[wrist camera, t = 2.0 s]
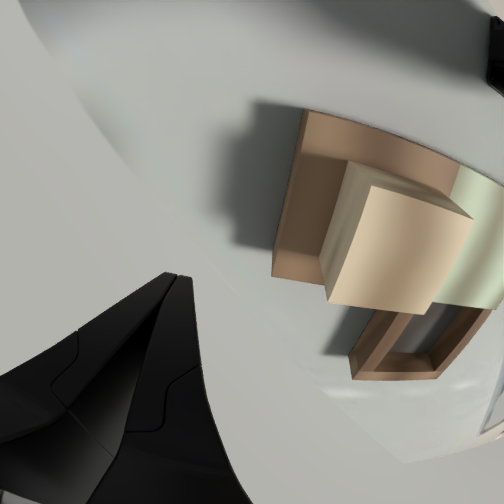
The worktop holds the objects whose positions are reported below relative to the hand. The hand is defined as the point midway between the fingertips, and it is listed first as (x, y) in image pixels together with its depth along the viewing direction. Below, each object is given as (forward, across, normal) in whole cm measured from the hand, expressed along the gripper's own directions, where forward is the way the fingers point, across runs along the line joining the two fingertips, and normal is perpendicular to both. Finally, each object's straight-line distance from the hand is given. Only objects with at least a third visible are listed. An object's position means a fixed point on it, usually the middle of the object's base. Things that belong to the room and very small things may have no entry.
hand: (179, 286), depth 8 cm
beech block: (+8, -9, 0) cm, 12 cm away
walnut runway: (+11, -20, +5) cm, 24 cm away
